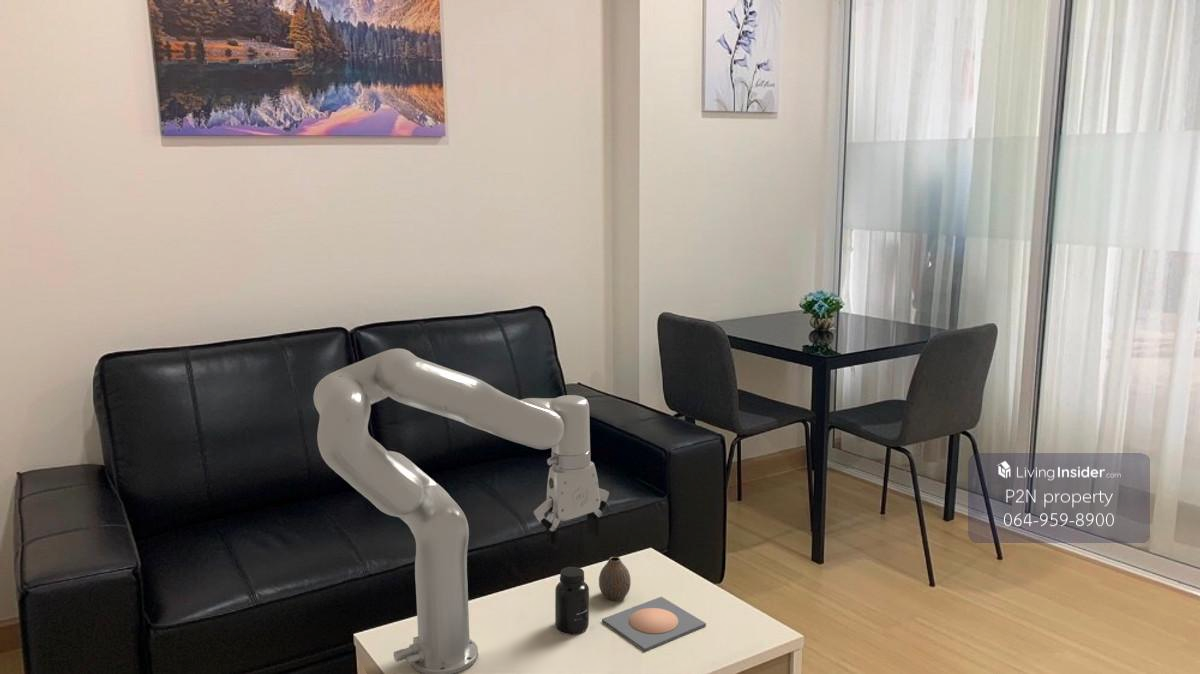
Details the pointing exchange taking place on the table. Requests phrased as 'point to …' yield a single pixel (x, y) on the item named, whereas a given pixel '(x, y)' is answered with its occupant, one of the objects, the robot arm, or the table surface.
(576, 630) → the supplement bottle
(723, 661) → the table surface
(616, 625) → the mat
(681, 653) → the table surface
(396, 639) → the table surface
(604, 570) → the vase
